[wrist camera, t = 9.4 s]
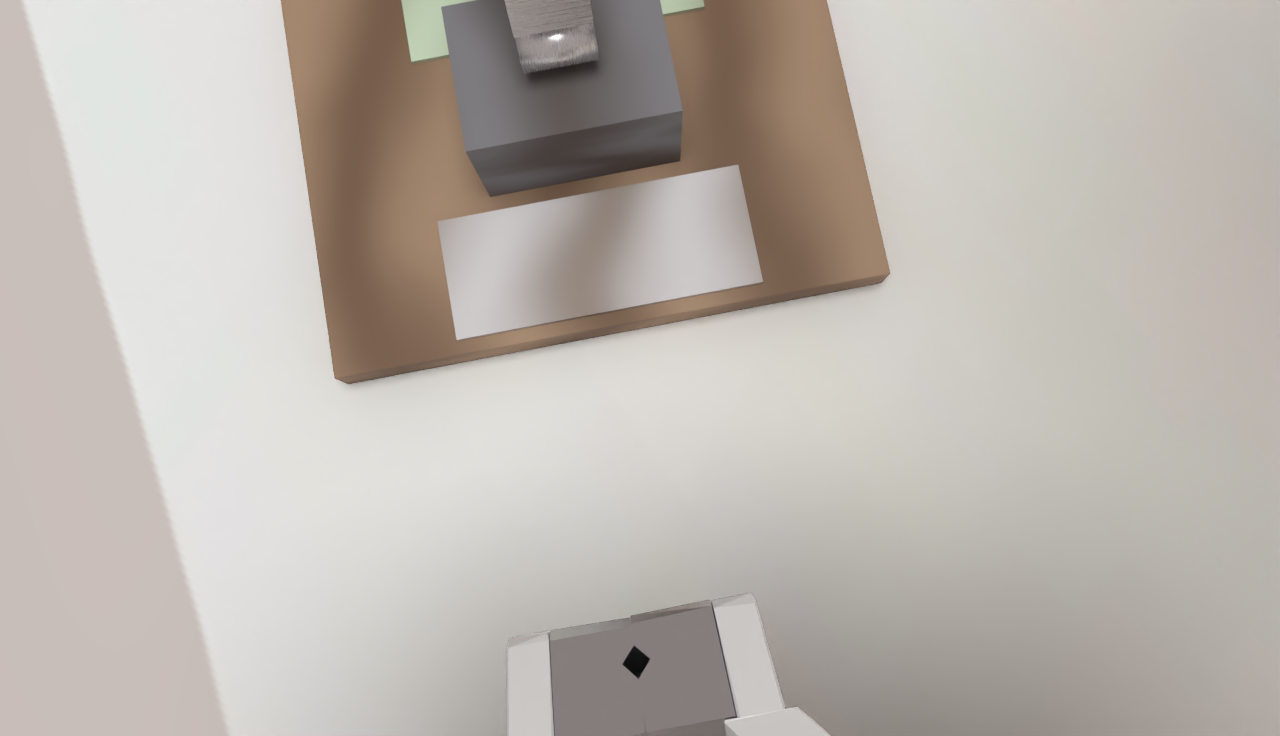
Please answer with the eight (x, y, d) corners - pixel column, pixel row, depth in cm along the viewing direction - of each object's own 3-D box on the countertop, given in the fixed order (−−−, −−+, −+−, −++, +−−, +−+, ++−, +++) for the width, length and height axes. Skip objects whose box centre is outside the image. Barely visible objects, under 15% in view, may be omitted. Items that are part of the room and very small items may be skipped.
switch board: (790, -107, 39) (814, -220, 33) (880, 282, 36) (923, 237, 30) (290, -13, 38) (223, -109, 32) (348, 384, 36) (286, 358, 30)
